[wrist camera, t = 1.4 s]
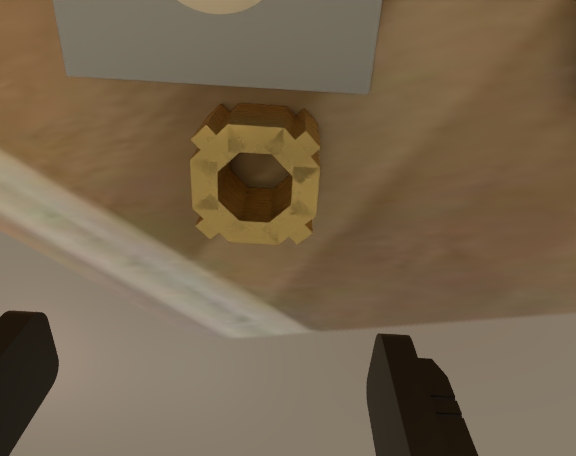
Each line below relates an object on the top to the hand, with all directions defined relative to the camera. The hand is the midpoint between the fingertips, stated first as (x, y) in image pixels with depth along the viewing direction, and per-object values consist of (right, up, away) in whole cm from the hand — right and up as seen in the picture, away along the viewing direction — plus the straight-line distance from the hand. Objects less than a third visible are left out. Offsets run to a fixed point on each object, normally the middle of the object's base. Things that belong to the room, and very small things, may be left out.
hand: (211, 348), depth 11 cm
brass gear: (0, +7, +13) cm, 14 cm away
